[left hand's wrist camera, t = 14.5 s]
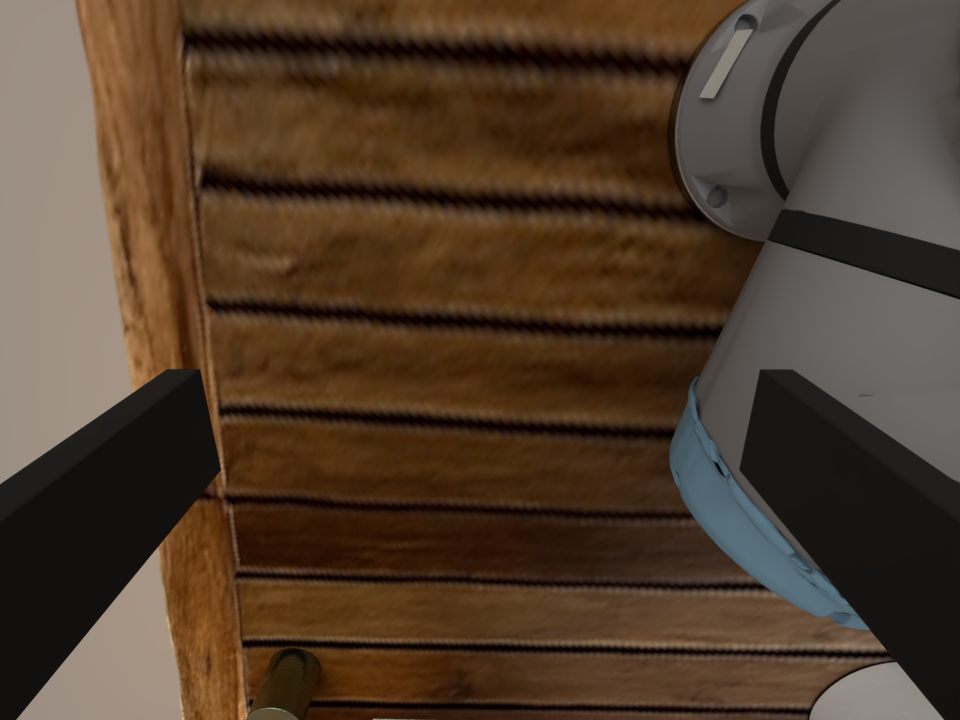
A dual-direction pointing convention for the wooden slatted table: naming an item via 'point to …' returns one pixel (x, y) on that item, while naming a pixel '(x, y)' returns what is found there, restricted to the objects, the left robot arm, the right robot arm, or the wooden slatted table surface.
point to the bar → (392, 719)
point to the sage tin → (286, 687)
